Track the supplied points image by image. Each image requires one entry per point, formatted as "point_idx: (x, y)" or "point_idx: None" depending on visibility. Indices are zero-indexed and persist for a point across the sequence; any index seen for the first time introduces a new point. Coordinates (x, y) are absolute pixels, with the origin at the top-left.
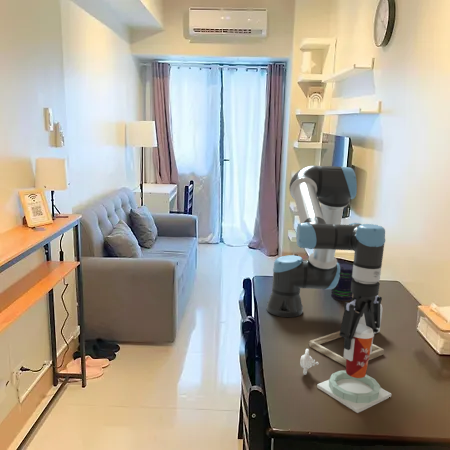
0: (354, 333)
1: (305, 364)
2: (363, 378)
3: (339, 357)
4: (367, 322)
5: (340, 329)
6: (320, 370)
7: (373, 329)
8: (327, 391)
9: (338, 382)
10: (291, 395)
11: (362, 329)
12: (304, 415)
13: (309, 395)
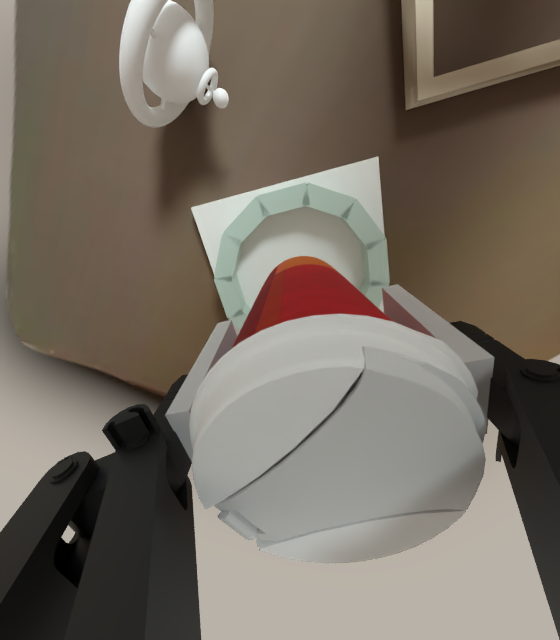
0: (191, 529)
1: (135, 116)
2: (364, 251)
3: (414, 17)
4: (539, 486)
5: (1, 532)
6: (272, 82)
7: (507, 459)
8: (209, 255)
9: (273, 222)
10: (90, 224)
11: (335, 507)
12: (103, 321)
13: (150, 243)
